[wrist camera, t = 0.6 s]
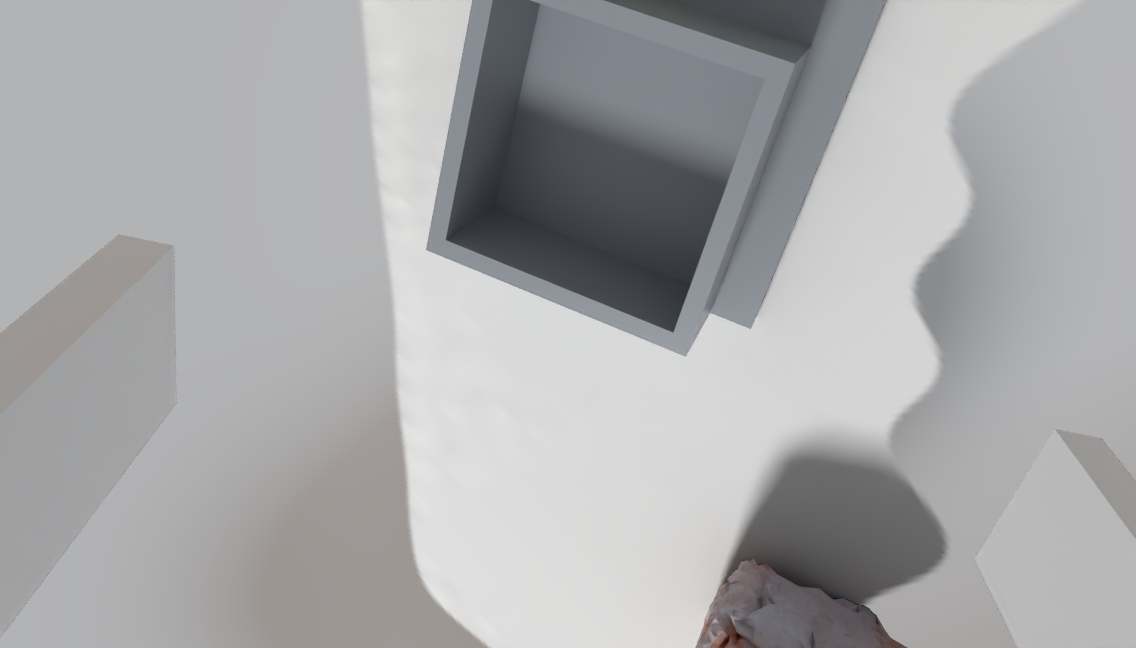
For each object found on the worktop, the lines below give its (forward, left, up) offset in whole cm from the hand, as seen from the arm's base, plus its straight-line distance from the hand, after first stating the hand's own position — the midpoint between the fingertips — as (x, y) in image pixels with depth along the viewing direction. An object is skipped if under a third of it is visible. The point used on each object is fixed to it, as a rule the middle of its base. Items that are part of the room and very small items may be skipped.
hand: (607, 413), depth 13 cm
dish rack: (0, -7, -27) cm, 28 cm away
